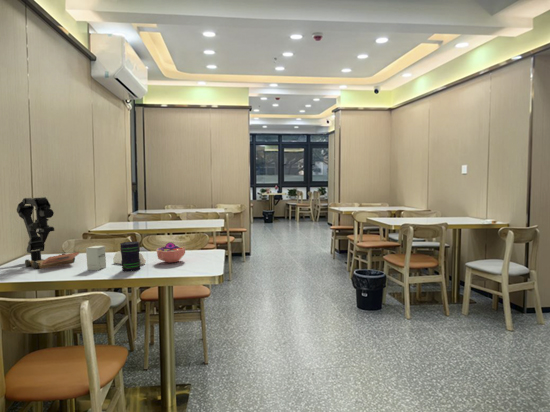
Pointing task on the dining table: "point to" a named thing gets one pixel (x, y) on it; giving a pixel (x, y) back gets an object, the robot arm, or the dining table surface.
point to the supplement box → (96, 257)
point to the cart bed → (39, 264)
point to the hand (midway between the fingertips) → (43, 242)
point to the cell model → (170, 253)
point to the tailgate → (60, 258)
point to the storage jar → (130, 256)
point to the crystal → (118, 258)
